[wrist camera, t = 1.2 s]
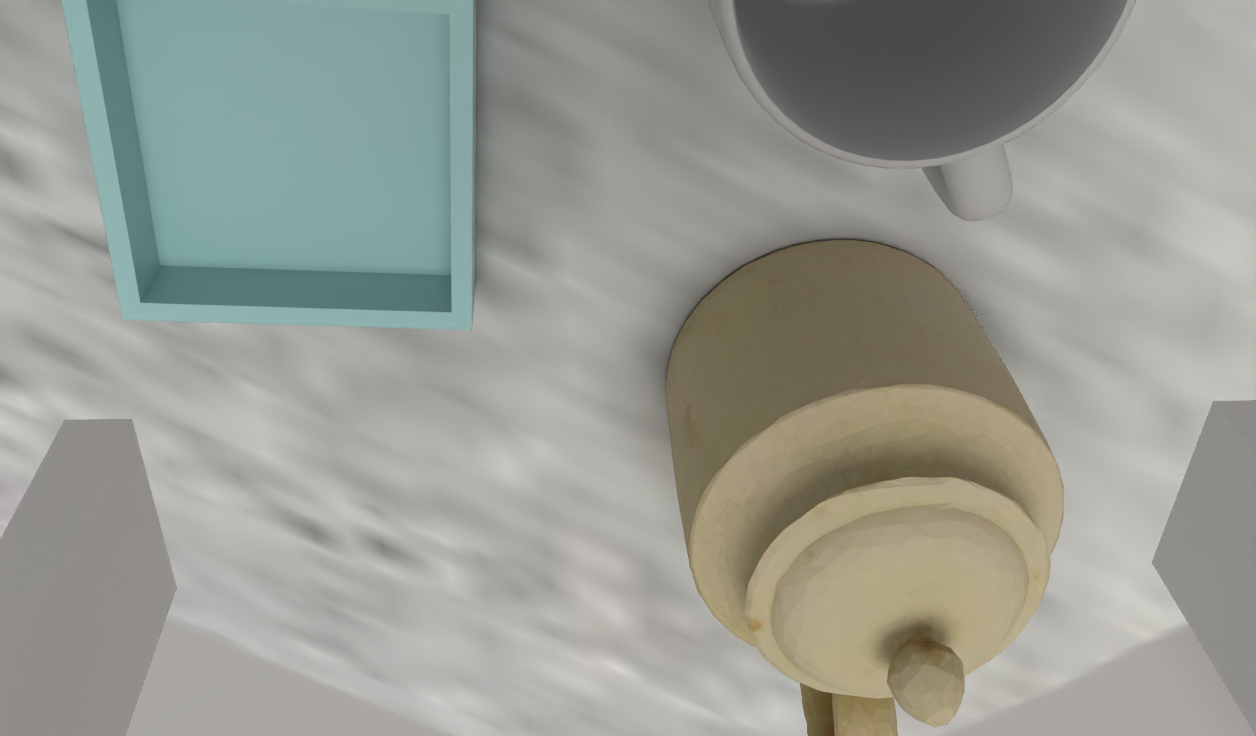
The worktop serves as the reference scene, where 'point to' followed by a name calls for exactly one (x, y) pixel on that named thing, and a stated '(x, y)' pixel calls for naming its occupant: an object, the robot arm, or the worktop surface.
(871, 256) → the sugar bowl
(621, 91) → the worktop surface
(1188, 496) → the robot arm
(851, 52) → the mug
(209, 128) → the parts tray
